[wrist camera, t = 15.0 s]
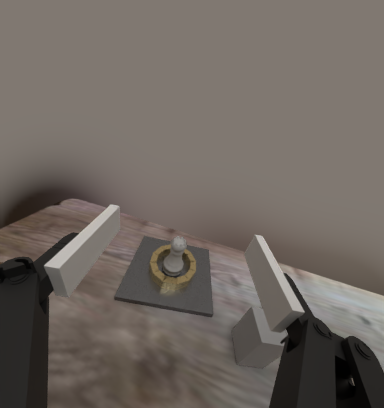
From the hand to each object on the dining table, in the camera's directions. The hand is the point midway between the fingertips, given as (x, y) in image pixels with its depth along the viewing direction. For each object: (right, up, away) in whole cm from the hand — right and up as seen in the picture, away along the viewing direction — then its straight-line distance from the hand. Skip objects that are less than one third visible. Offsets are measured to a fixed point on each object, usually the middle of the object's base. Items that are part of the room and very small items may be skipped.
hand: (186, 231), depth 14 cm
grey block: (+9, -20, +9) cm, 24 cm away
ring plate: (-4, -12, +18) cm, 22 cm away
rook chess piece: (-4, -11, +17) cm, 21 cm away
